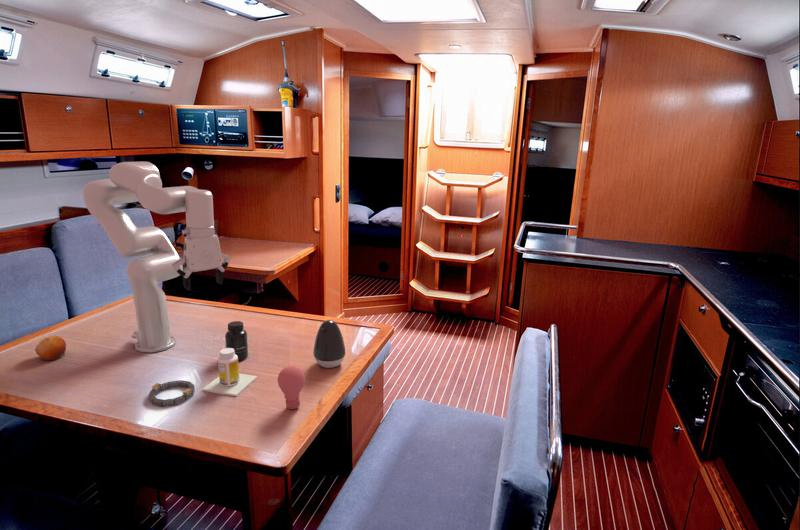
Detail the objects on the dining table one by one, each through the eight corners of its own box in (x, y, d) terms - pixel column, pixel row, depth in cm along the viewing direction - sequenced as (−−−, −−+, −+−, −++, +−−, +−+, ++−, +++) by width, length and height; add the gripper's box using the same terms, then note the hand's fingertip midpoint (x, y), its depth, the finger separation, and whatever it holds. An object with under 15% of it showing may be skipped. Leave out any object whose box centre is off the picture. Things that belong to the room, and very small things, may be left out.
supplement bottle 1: (241, 363, 151) (239, 328, 148) (222, 360, 152) (219, 326, 149) (252, 353, 158) (250, 320, 155) (233, 351, 159) (231, 318, 156)
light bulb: (281, 400, 130) (279, 361, 127) (307, 399, 131) (305, 360, 128) (277, 415, 124) (274, 374, 120) (304, 414, 124) (302, 373, 121)
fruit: (76, 351, 154) (58, 335, 149) (53, 369, 150) (34, 354, 145) (70, 344, 159) (51, 328, 154) (48, 361, 155) (28, 346, 150)
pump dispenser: (307, 368, 149) (305, 324, 145) (323, 355, 158) (322, 312, 154) (336, 374, 145) (335, 329, 141) (350, 360, 155) (350, 317, 151)
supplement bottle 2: (241, 377, 141) (238, 346, 138) (238, 386, 136) (235, 354, 133) (221, 378, 140) (218, 347, 138) (218, 387, 135) (215, 355, 132)
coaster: (202, 390, 134) (202, 388, 134) (225, 373, 145) (225, 371, 145) (236, 396, 132) (236, 394, 132) (257, 378, 142) (257, 376, 142)
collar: (139, 403, 128) (138, 395, 127) (169, 382, 138) (168, 375, 138) (175, 409, 125) (174, 401, 124) (202, 388, 136) (202, 380, 135)
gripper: (175, 237, 130) (179, 295, 135) (234, 231, 142) (236, 284, 147) (165, 232, 135) (170, 288, 140) (223, 226, 147) (225, 278, 152)
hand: (204, 286), depth 144 cm, fingers open, 9 cm apart
